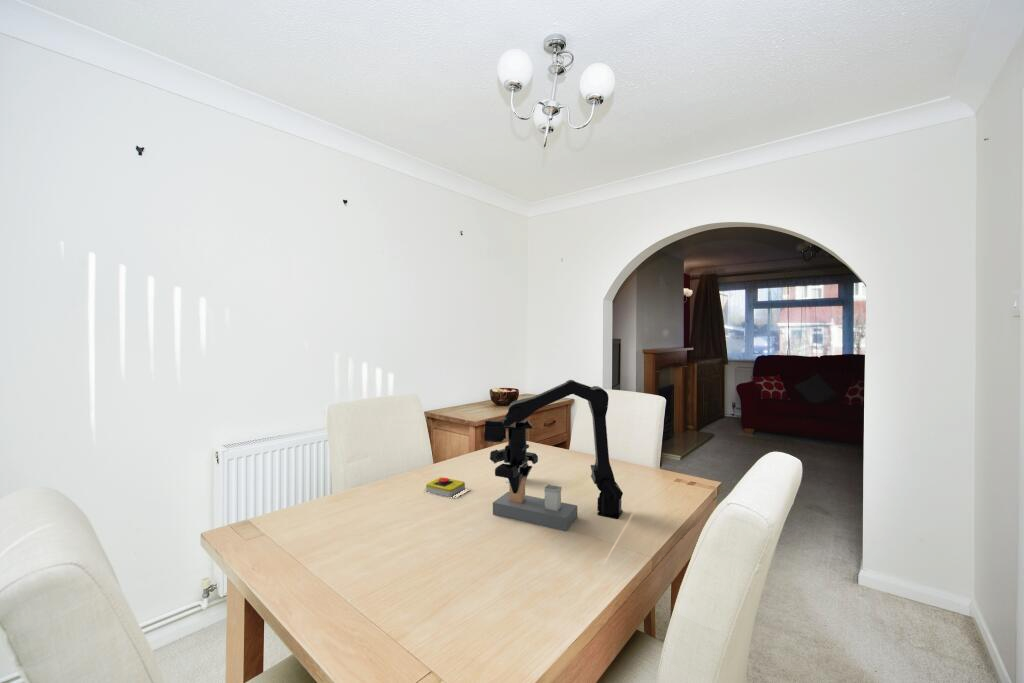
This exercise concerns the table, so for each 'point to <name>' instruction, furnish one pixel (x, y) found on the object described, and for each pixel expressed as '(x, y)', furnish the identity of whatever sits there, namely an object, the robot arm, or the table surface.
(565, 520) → the block
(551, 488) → the grey plug
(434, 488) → the emergency button
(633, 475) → the table surface
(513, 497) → the terracotta plug
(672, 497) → the table surface
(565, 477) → the table surface
